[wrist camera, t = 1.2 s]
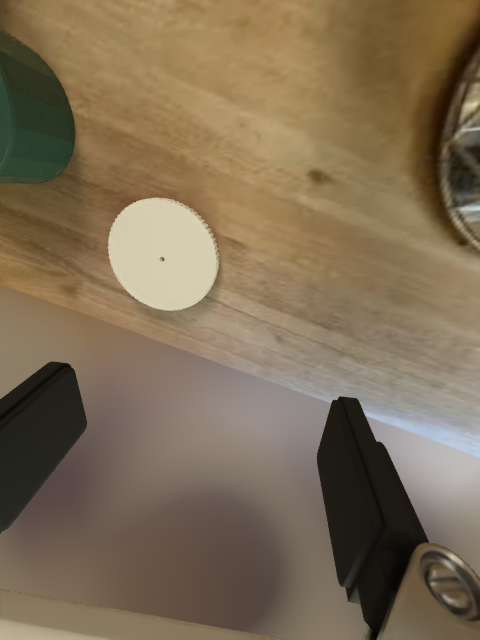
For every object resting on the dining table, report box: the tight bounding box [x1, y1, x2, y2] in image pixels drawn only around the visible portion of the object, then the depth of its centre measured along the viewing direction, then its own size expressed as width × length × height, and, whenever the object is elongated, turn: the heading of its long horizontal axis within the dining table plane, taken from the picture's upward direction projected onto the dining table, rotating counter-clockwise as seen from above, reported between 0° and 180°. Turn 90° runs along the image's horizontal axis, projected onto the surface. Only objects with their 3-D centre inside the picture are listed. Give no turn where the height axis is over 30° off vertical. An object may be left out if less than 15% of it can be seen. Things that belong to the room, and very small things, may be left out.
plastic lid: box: [108, 198, 219, 311], centre depth 35 cm, size 14×14×2 cm
